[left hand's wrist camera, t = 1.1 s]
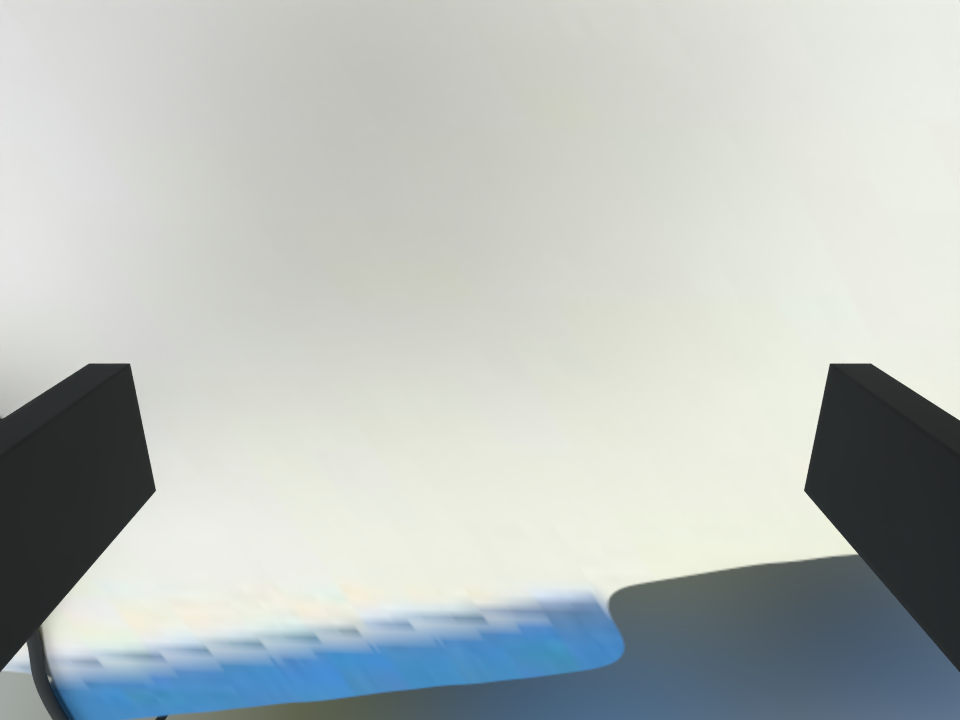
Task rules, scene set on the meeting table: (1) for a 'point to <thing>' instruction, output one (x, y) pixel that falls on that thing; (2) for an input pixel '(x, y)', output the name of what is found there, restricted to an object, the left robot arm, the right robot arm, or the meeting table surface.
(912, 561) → the left robot arm
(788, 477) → the meeting table surface
